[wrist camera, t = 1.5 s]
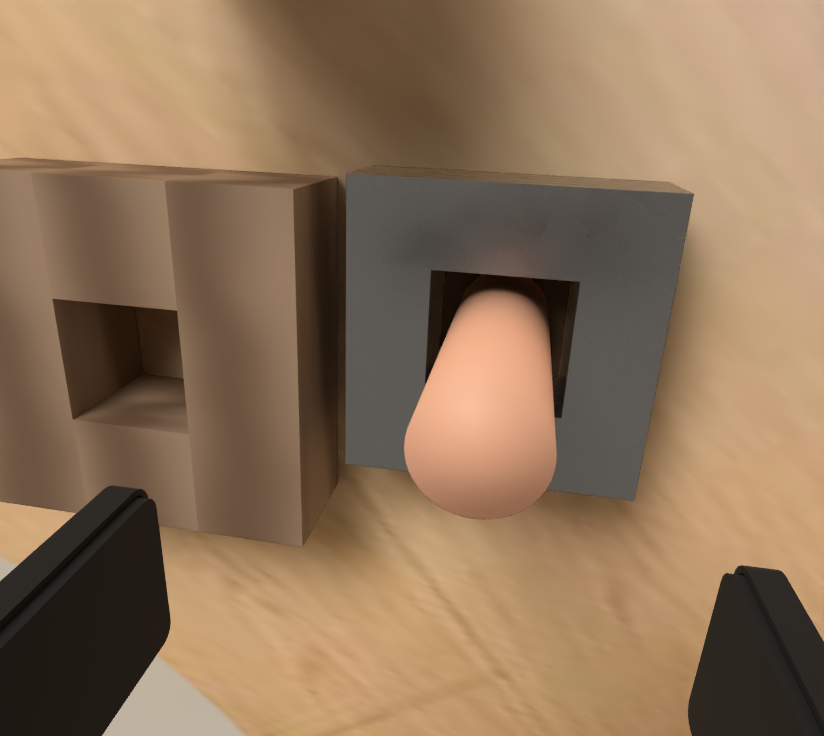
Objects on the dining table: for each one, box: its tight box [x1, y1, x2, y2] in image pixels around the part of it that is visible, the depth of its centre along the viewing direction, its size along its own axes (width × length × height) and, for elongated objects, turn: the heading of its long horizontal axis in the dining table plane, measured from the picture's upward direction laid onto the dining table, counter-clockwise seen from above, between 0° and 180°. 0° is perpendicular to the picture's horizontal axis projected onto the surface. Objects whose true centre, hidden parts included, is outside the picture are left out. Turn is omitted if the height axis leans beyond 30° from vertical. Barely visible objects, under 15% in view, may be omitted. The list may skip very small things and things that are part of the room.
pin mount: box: [345, 166, 694, 501], centre depth 24 cm, size 11×11×4 cm
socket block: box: [0, 158, 338, 547], centre depth 27 cm, size 14×14×5 cm
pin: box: [404, 274, 557, 520], centre depth 21 cm, size 4×4×12 cm
